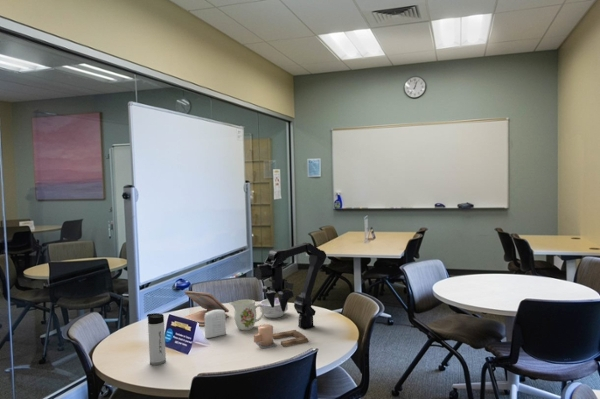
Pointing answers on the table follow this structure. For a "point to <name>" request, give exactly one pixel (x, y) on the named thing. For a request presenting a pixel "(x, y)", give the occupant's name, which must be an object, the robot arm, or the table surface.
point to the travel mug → (156, 338)
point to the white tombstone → (215, 323)
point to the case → (204, 305)
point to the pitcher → (246, 313)
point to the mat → (266, 346)
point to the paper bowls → (272, 309)
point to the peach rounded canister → (264, 335)
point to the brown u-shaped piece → (298, 339)
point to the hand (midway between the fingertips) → (278, 309)
